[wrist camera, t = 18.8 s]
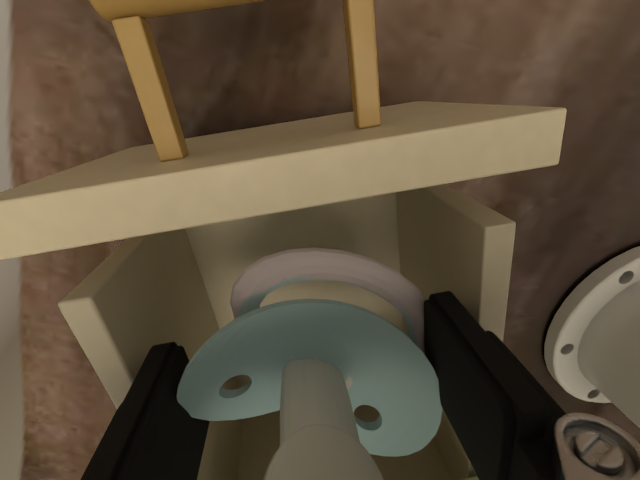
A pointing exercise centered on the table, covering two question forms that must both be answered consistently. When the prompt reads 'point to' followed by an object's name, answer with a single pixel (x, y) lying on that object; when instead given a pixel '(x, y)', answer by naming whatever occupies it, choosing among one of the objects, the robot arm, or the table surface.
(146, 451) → the robot arm
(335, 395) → the pacifier
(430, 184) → the drawer
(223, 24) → the table surface
